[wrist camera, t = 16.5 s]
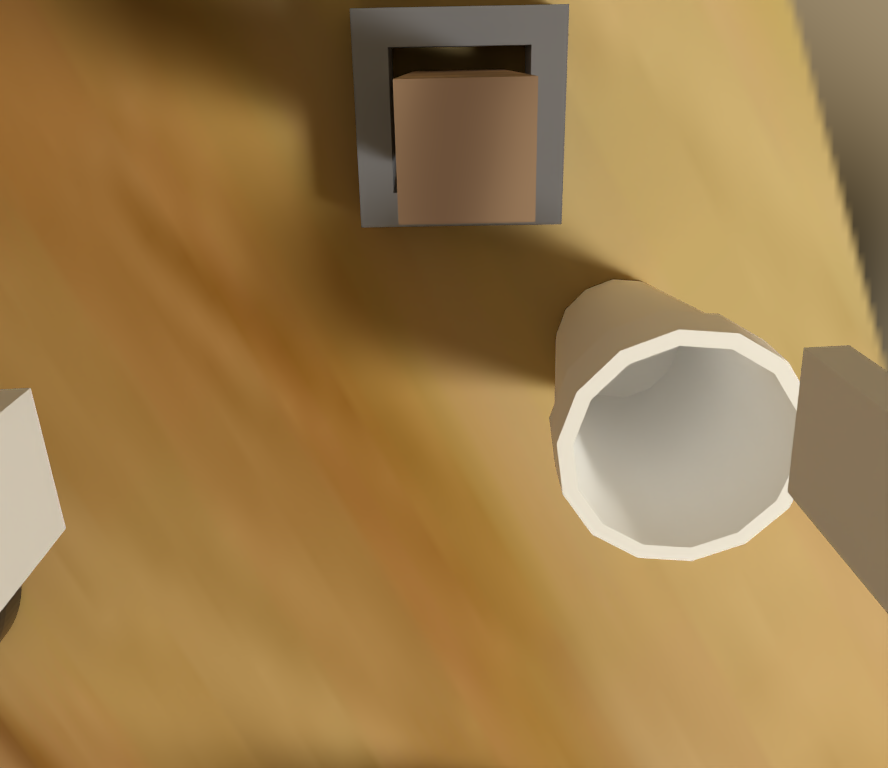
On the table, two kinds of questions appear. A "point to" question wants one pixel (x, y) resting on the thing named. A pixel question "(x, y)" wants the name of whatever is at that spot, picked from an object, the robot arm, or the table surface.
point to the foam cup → (669, 423)
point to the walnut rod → (466, 146)
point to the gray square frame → (455, 28)
